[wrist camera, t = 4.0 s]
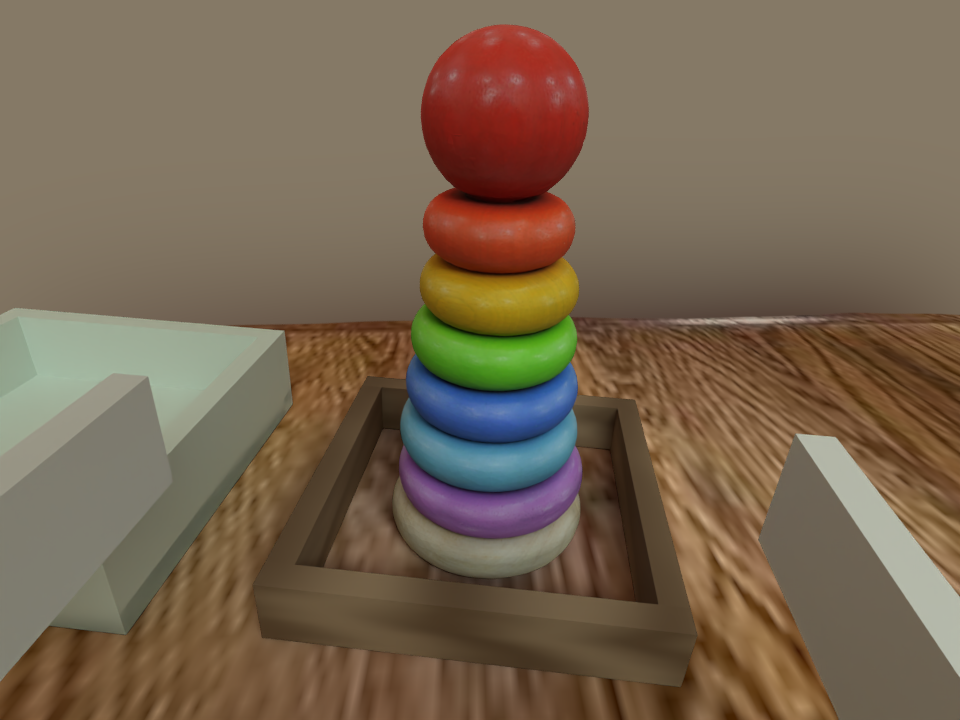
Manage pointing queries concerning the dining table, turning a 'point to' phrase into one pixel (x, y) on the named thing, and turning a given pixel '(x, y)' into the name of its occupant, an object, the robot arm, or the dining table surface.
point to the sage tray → (182, 417)
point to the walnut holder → (478, 608)
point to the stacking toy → (495, 313)
